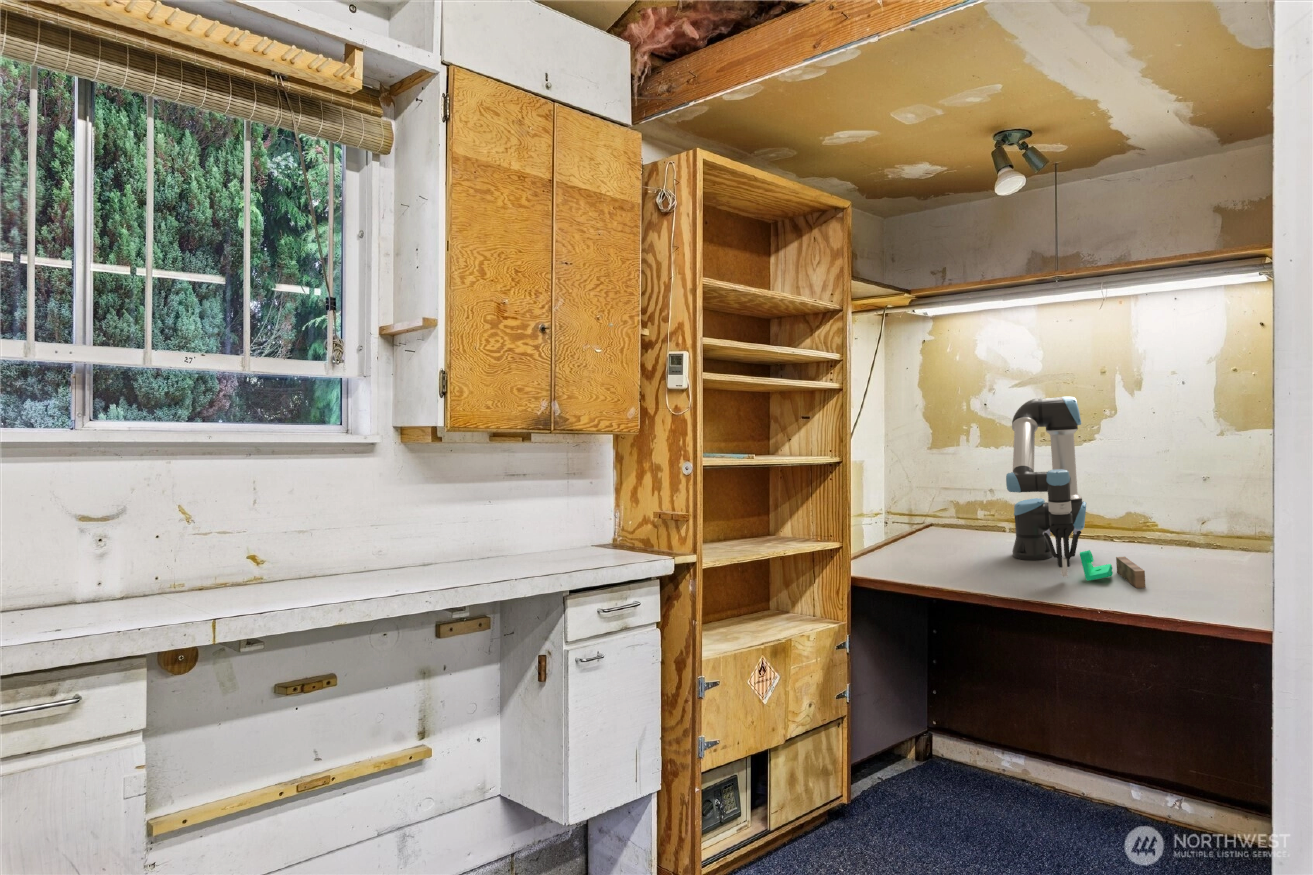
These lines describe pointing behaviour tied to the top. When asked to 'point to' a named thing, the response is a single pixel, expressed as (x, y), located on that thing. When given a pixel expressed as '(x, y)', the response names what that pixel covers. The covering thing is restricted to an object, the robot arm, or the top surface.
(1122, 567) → the block
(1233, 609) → the top surface
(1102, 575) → the camera mount
